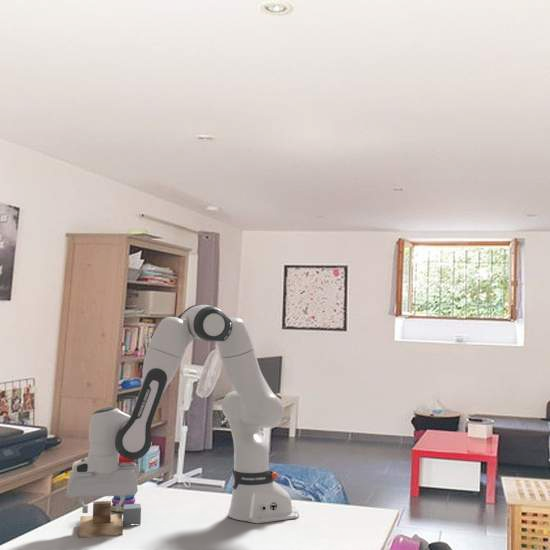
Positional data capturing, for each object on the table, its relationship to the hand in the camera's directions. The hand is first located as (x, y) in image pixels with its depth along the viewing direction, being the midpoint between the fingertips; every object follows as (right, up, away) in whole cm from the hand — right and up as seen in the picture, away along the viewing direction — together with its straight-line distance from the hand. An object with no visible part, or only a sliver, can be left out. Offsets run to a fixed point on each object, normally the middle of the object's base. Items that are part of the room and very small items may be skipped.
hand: (101, 511), depth 187 cm
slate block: (+7, -6, +7) cm, 12 cm away
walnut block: (0, -3, 0) cm, 3 cm away
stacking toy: (+2, -7, +21) cm, 22 cm away
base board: (0, -5, -1) cm, 5 cm away
